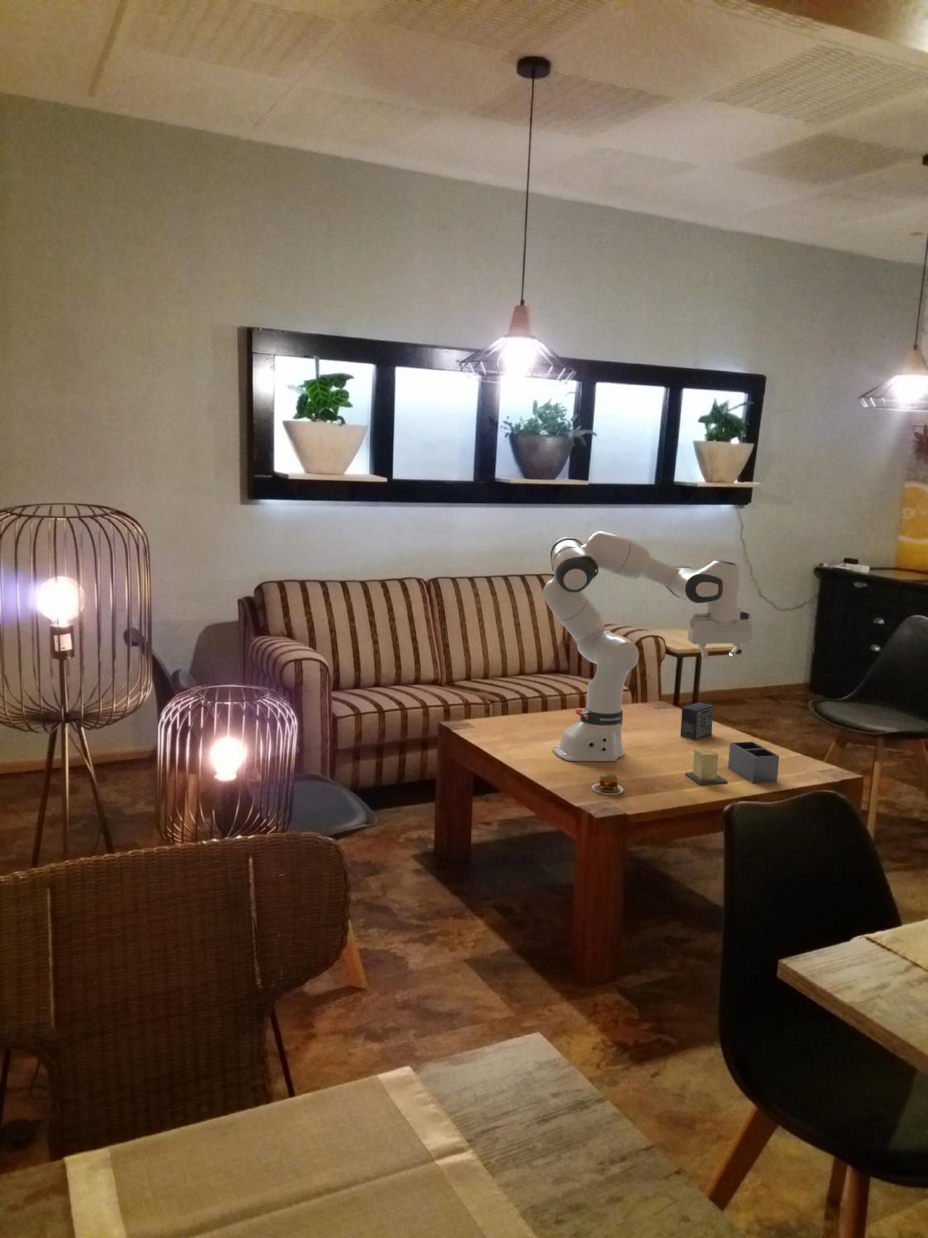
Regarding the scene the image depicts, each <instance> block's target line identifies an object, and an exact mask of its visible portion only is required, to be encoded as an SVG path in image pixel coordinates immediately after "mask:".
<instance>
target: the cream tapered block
mask: <svg viewBox="0 0 928 1238" xmlns="http://www.w3.org/2000/svg"><path fill="white" fill-rule="evenodd" d="M693 752H694V755H693V767H692V772H693V776H694V777H695V778H697V779H698V780H699V781H716V776H717V775H718V762H719V754H718V753H717V752H715V751H714V750H713V749H711V748H709V749H708V748H705V749H694V751H693Z"/></svg>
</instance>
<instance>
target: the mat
mask: <svg viewBox="0 0 928 1238" xmlns="http://www.w3.org/2000/svg"><path fill="white" fill-rule="evenodd" d="M684 776H686V777H688V778H689V779H691V780H692V781H693V782H694V783H696V784H698V785H699V786H703V785H705V786H708V785H723V784H728V780H727V779H724V777H722V776H720V775H718V774H717V776H716V781H699V780H698V779H697V778H695V777H694V776H693V771H691V772H685V773H684Z"/></svg>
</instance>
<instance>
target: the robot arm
mask: <svg viewBox="0 0 928 1238" xmlns="http://www.w3.org/2000/svg"><path fill="white" fill-rule="evenodd" d="M550 562H551V564H550V565H551V570H552V572H553V573H554V574H553V577H552V578H551V579H549V580H548V581H547V583H546V584H545V585H544V587H543V590H542V596H543V599H544V600H545V603H546V604H547V606H548V607H549V609H550V610H551V612H552V613H553V614H554V617H556V618H557V620H558V621H559V622H560V623H561V624H562V626H563V627H564V628H565V629H566V630H567V632H568V633H569V634H570V635H571V636H572V638H573V640H574V641H575V644H576V647H577V651H578V652H579V654H580V655H581V656H582V657H583V658H585V659H586V660H587V661H588V662H591V663H593V664H595V665H596V672H595V674H594V677H593V678H592V680H590V681H589V682H588V685H587V690H586V691H587V692H586V706H585V707H584V709H581V708H579V707H577V708H576V709H575V711H574V712H575V715H577V716H580V718H579V720H577V721H576V722H575V723H573V724H572V725H570V726H569V727H568V728H567V729H565V730H564V731H563V732H562V733H561V736H560V737H561V738H560V743H559V744H554V745H553V748H552V751H553V753H554V754H555V755H557V757H559V758H560V759H563V760H565V761H569V762H616V761H617V760H618V758H619V759H620V758H621V757H623V756H624V755H625V752H624V748H623V741H622V726H623V716H624V715H623V714H624V712H623V709H622V708H623V707H622V706H623V692H624V687H625V686H624V685H625V683H626V680H627V677H628V674H629V672H630V671H631V670H633V669H634V668H635V666H637V664H638V661H639V658H640V652H639V649H638V647H637V645H636V644H635V643H634V642H632V641H631V640H630V639H628V638H627V637H625V636H622V635H619V634H616V633H614V632H612V631H610V630H609V629H608V628H606V626H605V625H604V624H603V622H602V615H601V613H600V611H599V610H598V609H597V608H596V606H594V604H593V602H591V600H590V599H589V598H588V597H587V596H586V594H585V593H584V592H583V590H585V589H586V588H587V587H588V586H589V585H590V583H591V582H592V581H593V579H594V578H595V577H597V575H598V574H599V570H601V569H602V570H605V571H607V572H609V573H613V574H615V575H617V576H620V577H624V578H628V579H633V580H635V579H636V580H637V579H639V578H644V579H648V580H652V582H653V581H654V582H656V583H658V584H661V585H662V586H664V587H666V588H667V590H668V591H669V592H670V593H671V594H672V595H674V596H675V597H676V598H679V599H683V600H686V601H688V602H690V603H694V604H704V603H707V605H706V606H707V608H706V612H705V613H695V614H694V615H692V616H691V617H690V618H689V630H688V634H687V640H688V642H689V643H690V644H693V645H698V648H699V650H700V652H701V656H700V657H701V658H702V659H709V651H706V647H707V645H709V644H710V645H711V644H714V645H715V644H716V645H717V644H732V645H733V647H732V649H731V650H729V651H728V657H730V658H736V657H737V652H738V650H739V649H740V647H741V644H748V643H750V642H751V641H752V639H753V623H752V621H751V620H752V618H753V615H752V613H751V612H749V611H746V610H744V609H741V608H738V599H737V597H738V593H739V591H740V570H739V566H738V565H737V564H736V563H734V562H731V561H726V560H723V559H714V560H712V562H711V563H708V565H706V566H704V567H702V568H699V569H695V568H692V567H691V566H687V565H685V566H684V565H680V566H679V565H678V566H672V565H670V564H667V563H664V562H662V561H659V560H658V559H656V558H653V557H651V555H650V551H649V550H648V549H647V548H646V547H644V546H643V545H641V544H640V543H638V542H636V541H634V540H632V539H630V538H627V537H625V536H622V535H619V534H616V533H615V534H614V533H611V532H608V531H607V532H606V531H602V530H601V531H595V532H593V534H591V535H590V536H589V537H588V539H587V541H586V542H585V543H584V544H583V543H582V542H581V541H580V540H579V539H577V538H576V537H573V536H563V537H561V538H558V539H557V540H556V541H555V542H554V543H553V545H552V547H551V551H550Z"/></svg>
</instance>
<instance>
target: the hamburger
mask: <svg viewBox="0 0 928 1238" xmlns="http://www.w3.org/2000/svg"><path fill="white" fill-rule="evenodd" d="M619 783H620V782H619V781H618V777H617V776H616V775H615V774H614V773H611V772H606V773H605V772H604V773H603V774H601V775H600V776H599V780H598V782H597V783H594V784H593V785H592V786H591V789H592V790H593V791H595V792H597V793H598V794H602V795H608V796H611V795H613V796H614V795H618V794H621V793H623V792H624V788H623V787H622V786H621V785H620V784H619ZM597 787H599V790H600V791H601V792H600V791H597V790H596V788H597ZM618 789H619V792H617V793H616V791H617V790H618Z"/></svg>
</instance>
